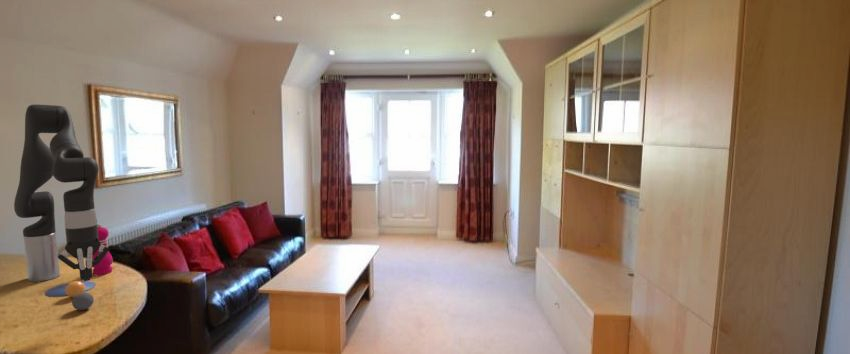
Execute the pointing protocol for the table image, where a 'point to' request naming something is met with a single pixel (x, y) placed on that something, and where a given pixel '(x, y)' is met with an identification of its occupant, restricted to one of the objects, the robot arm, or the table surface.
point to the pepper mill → (107, 260)
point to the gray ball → (82, 301)
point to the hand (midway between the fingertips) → (86, 280)
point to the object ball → (74, 288)
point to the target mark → (61, 288)
